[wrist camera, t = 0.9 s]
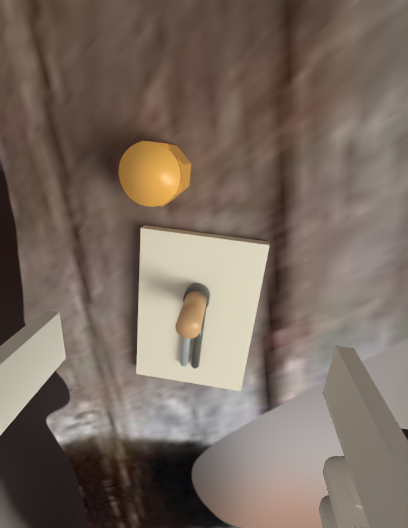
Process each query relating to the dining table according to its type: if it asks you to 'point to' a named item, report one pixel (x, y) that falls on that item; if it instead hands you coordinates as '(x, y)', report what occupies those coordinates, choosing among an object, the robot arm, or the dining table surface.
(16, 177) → the dining table surface
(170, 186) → the domed octagonal knob
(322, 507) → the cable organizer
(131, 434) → the dining table surface
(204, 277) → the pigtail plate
